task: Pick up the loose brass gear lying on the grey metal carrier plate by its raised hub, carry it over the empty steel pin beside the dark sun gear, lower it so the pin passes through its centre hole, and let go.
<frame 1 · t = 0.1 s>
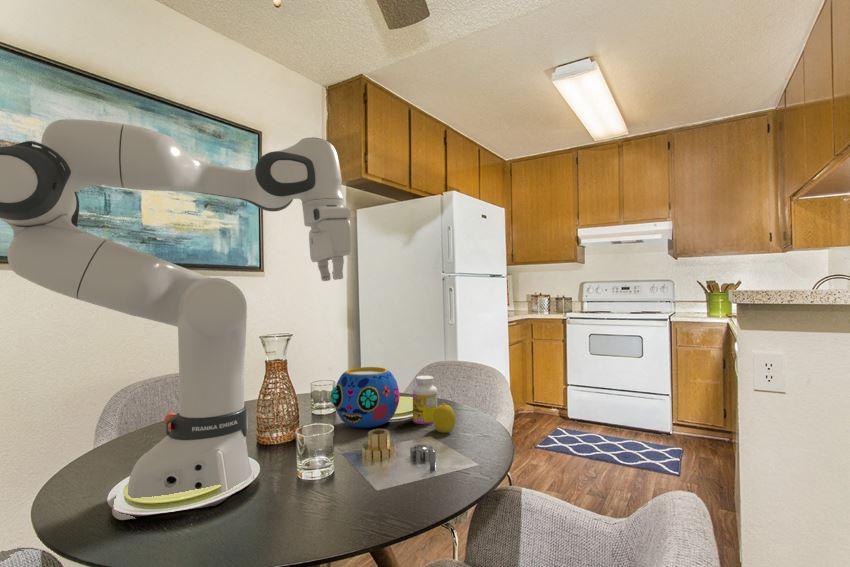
hand: (331, 280, 93), 39 cm above the table, tool pointing down, fingers open, 8 cm apart
lemon: (444, 436, 108), on the table
carrier: (408, 464, 90), on the table
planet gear: (379, 453, 93), point 1 cm above the table, touching carrier
supplement bottle: (425, 425, 117), on the table
ceramic pot: (367, 427, 116), on the table
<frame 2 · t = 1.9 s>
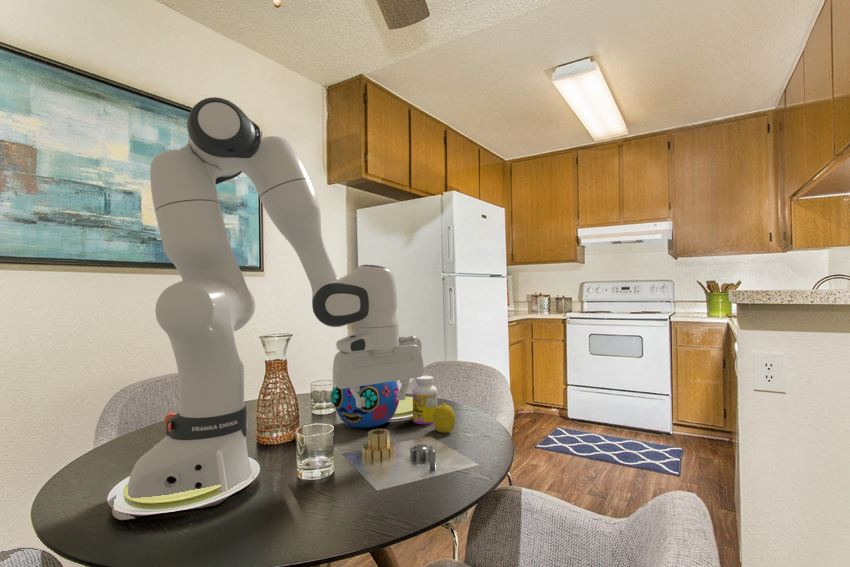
hand: (381, 403, 93), 12 cm above the table, tool pointing down, fingers open, 8 cm apart
nothing on the table moved.
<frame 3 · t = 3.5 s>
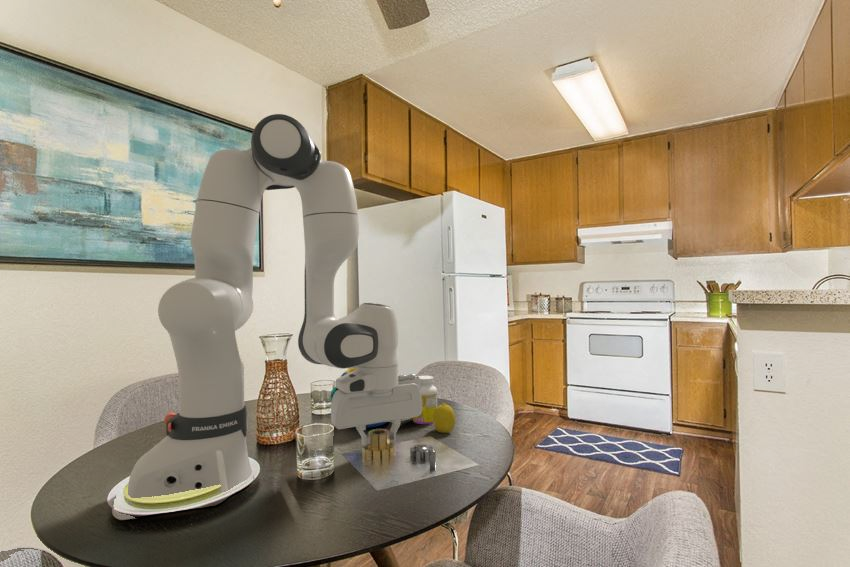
hand: (378, 442, 93), 4 cm above the table, tool pointing down, fingers closed on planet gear, 4 cm apart
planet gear: (379, 453, 93), point 1 cm above the table, touching carrier, gripper
everything else where it was.
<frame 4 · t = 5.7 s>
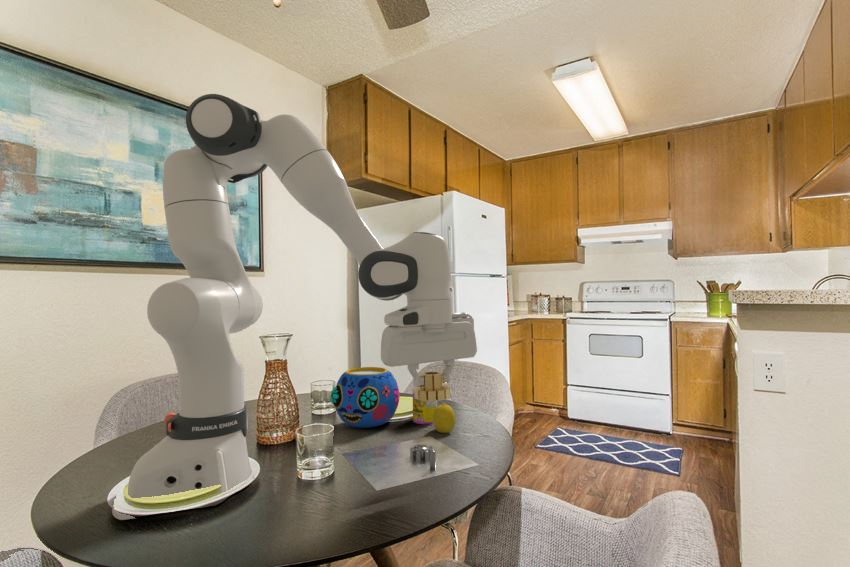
hand: (431, 384, 85), 18 cm above the table, tool pointing down, fingers closed on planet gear, 4 cm apart
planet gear: (432, 396, 85), point 15 cm above the table, touching gripper
everything else where it was.
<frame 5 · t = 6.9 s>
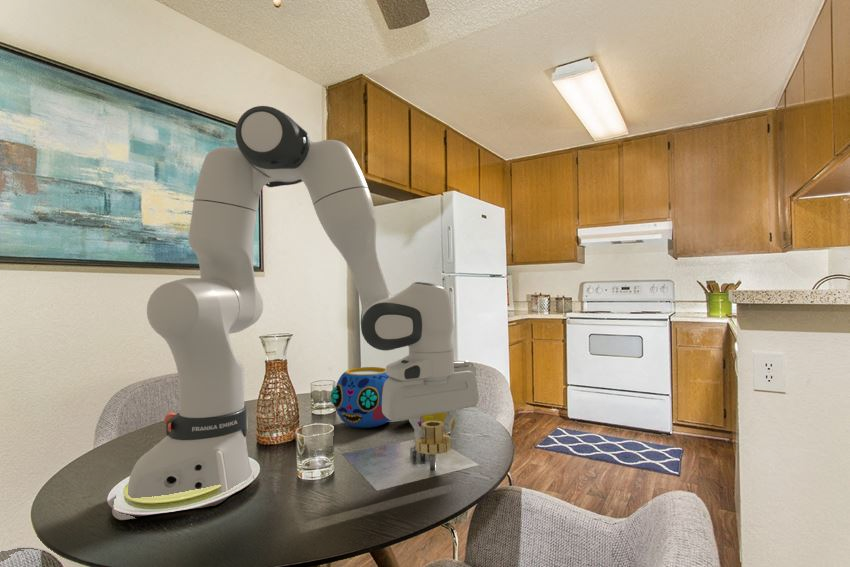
hand: (433, 435, 84), 8 cm above the table, tool pointing down, fingers closed on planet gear, 4 cm apart
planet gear: (433, 447, 84), point 5 cm above the table, touching gripper
everything else where it was.
when the fingers open (5 cm above the table, at t = 7.8 s): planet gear drops 1 cm, resting on carrier.
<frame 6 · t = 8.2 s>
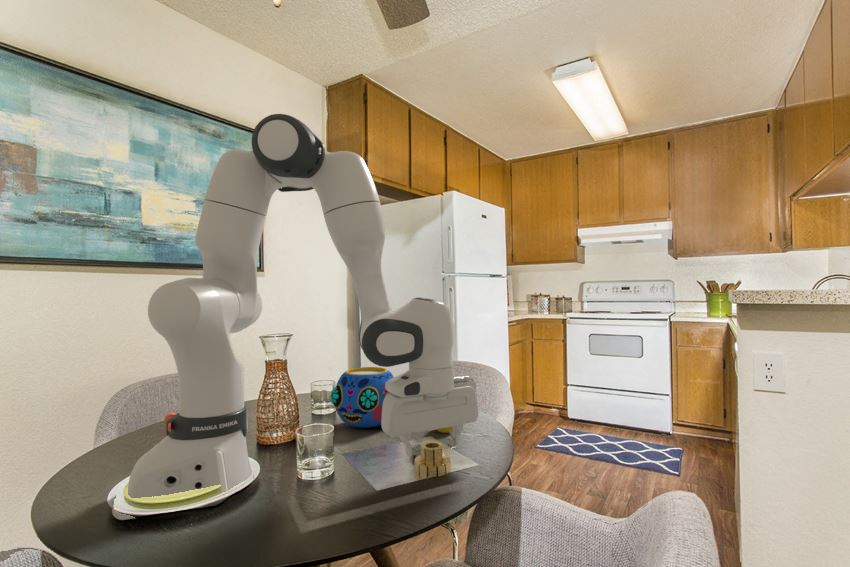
hand: (432, 451, 84), 5 cm above the table, tool pointing down, fingers open, 8 cm apart
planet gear: (432, 469, 84), point 1 cm above the table, touching carrier
everything else where it was.
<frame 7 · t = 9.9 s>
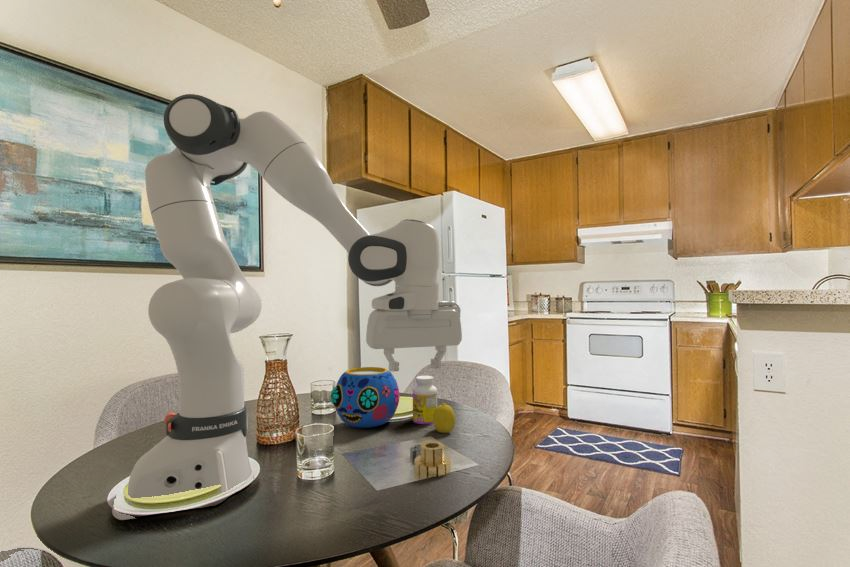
hand: (415, 369, 87), 20 cm above the table, tool pointing down, fingers open, 8 cm apart
nothing on the table moved.
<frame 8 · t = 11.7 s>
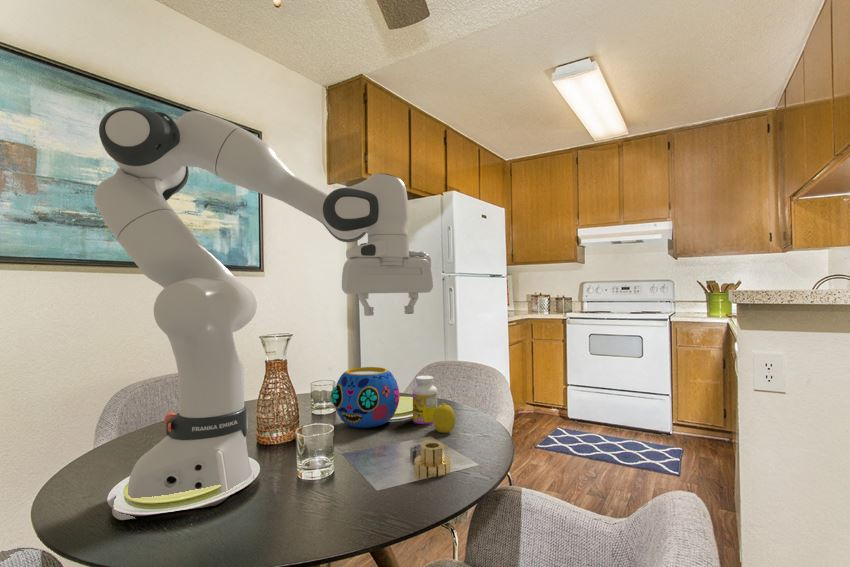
hand: (389, 314, 93), 31 cm above the table, tool pointing down, fingers open, 8 cm apart
nothing on the table moved.
at the end: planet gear 0.1 cm from the target spot on the carrier, point 1.2 cm above the carrier's base; the gripper is holding nothing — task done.
